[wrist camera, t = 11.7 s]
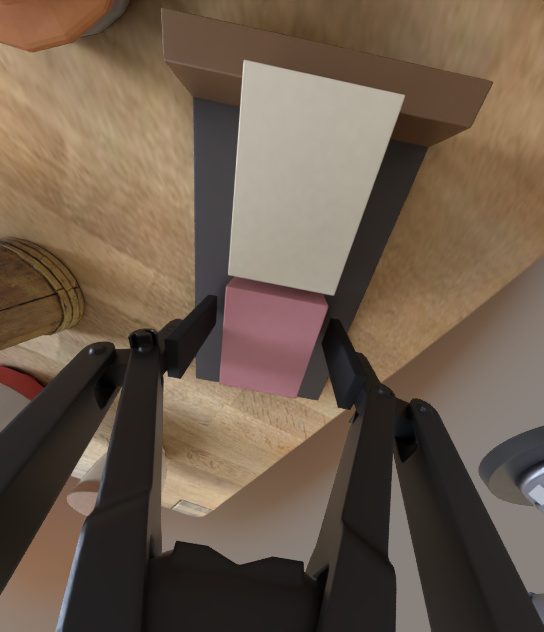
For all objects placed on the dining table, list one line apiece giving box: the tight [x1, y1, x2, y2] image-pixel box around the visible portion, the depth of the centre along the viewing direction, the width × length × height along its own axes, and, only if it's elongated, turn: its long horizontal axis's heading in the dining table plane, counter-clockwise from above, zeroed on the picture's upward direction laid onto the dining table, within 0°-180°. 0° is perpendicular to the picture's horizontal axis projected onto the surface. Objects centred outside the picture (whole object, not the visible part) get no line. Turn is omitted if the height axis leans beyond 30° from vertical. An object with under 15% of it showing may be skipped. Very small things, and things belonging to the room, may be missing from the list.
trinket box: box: [67, 447, 167, 516], centre depth 28 cm, size 11×11×9 cm
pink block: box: [219, 276, 328, 398], centre depth 15 cm, size 6×8×5 cm
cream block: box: [228, 60, 405, 295], centre depth 11 cm, size 6×8×5 cm
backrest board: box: [161, 7, 493, 400], centre depth 15 cm, size 14×24×4 cm, turn 170°
